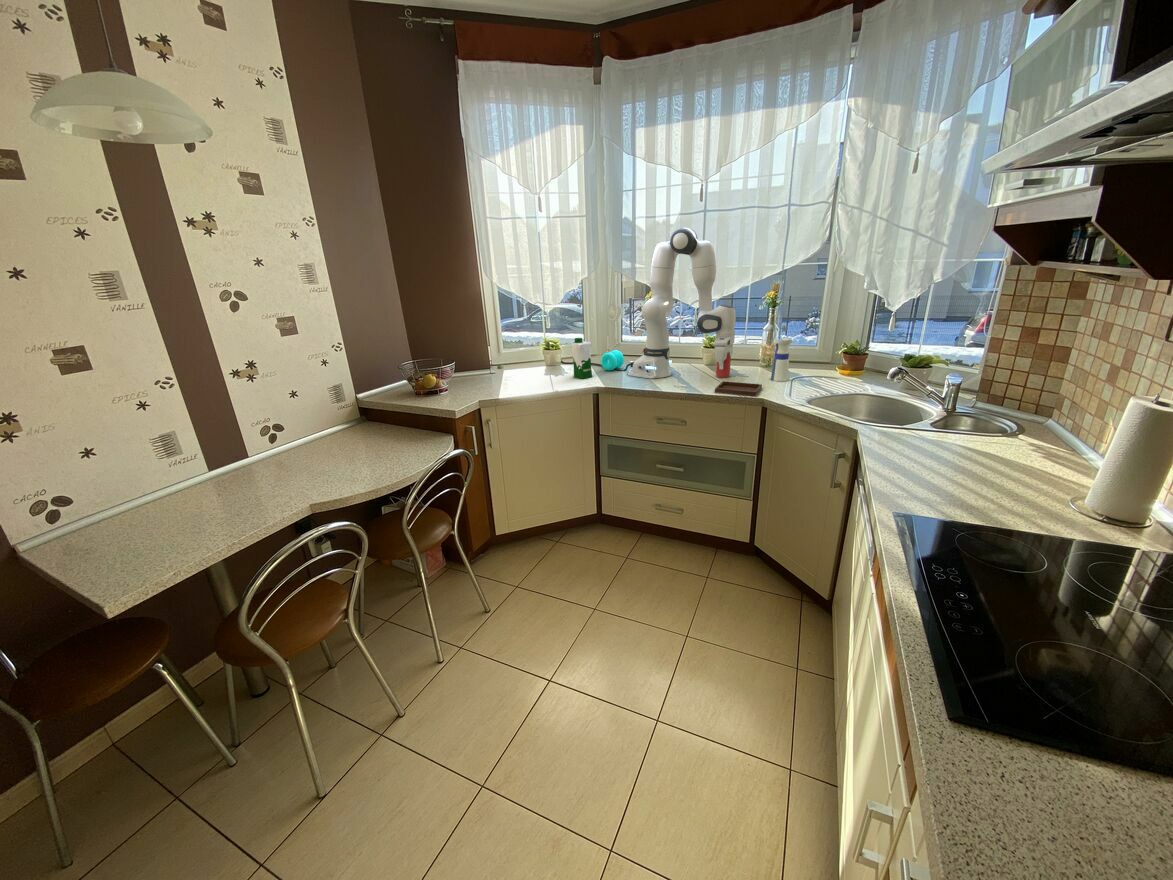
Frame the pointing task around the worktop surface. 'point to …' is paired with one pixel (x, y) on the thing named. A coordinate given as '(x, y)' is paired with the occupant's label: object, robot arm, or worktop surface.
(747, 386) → the tray
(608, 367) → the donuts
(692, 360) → the worktop surface
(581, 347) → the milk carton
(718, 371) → the beer can
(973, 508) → the worktop surface
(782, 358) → the water bottle
